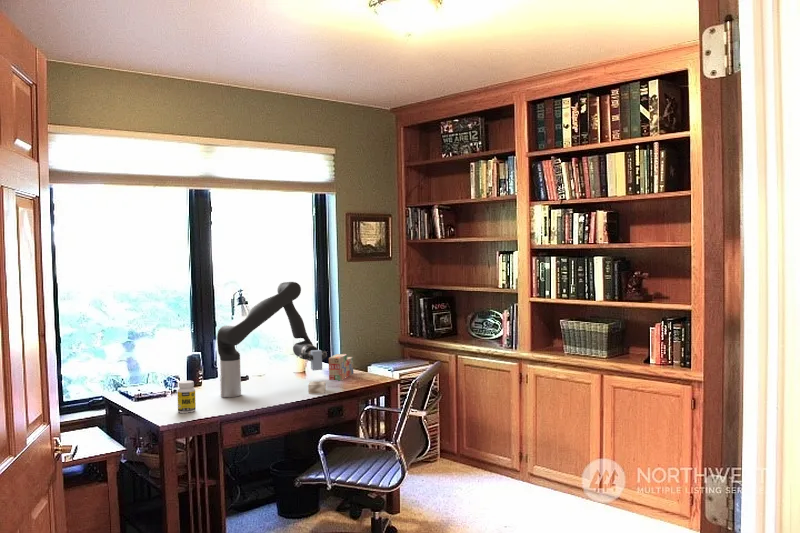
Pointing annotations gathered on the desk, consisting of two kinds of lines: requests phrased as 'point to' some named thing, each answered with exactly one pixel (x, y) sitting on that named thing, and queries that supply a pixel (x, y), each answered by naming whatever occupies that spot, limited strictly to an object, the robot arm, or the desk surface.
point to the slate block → (316, 360)
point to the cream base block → (317, 387)
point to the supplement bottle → (186, 397)
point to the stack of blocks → (340, 366)
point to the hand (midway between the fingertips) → (317, 357)
